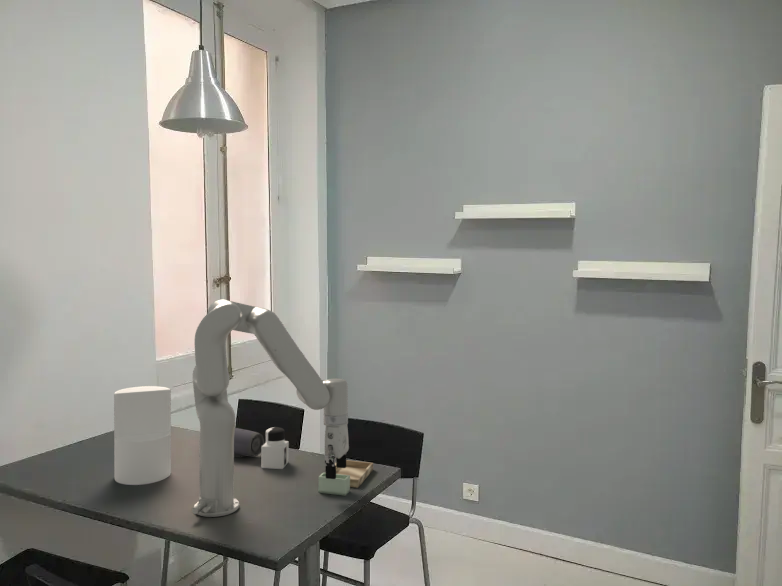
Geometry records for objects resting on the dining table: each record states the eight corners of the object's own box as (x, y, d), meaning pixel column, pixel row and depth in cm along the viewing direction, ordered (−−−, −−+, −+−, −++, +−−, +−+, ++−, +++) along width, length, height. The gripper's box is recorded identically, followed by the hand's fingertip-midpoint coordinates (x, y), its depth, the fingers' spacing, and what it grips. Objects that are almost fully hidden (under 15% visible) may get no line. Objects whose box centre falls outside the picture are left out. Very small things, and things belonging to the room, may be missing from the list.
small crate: (345, 495, 187) (346, 479, 186) (318, 492, 189) (318, 476, 189) (349, 491, 190) (350, 475, 190) (322, 487, 193) (323, 472, 192)
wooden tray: (358, 487, 193) (358, 480, 193) (321, 483, 196) (321, 476, 196) (373, 469, 210) (373, 462, 210) (339, 466, 213) (339, 459, 213)
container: (288, 462, 216) (289, 426, 216) (282, 469, 209) (283, 432, 208) (267, 461, 217) (267, 425, 217) (260, 468, 210) (261, 431, 209)
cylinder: (113, 470, 204) (112, 388, 203) (167, 463, 212) (167, 384, 211) (116, 488, 189) (115, 399, 188) (174, 480, 197) (174, 394, 196)
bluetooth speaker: (199, 453, 224) (199, 426, 224) (216, 446, 233) (216, 421, 232) (248, 463, 215) (249, 435, 214) (264, 455, 223) (265, 429, 223)
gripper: (337, 427, 179) (338, 484, 180) (355, 412, 196) (356, 464, 197) (314, 425, 181) (314, 481, 182) (333, 411, 198) (334, 462, 199)
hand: (336, 472), depth 190 cm, fingers open, 9 cm apart
